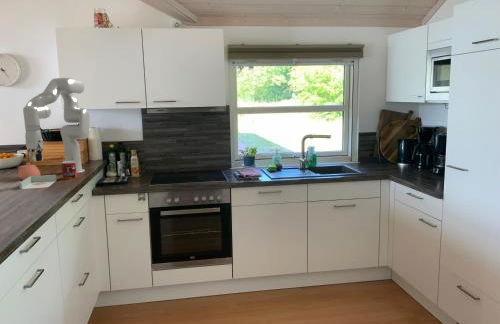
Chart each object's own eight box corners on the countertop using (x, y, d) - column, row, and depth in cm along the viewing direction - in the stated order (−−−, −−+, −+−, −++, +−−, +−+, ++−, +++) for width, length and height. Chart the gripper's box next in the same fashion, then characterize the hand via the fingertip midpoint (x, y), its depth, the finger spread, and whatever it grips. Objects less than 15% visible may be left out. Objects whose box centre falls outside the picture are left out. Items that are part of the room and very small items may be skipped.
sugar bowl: (31, 181, 249) (29, 164, 247) (11, 181, 252) (9, 164, 250) (45, 177, 261) (43, 161, 259) (26, 177, 264) (24, 161, 262)
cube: (30, 161, 234) (28, 152, 233) (38, 159, 238) (37, 151, 237) (34, 161, 231) (33, 152, 230) (43, 160, 235) (42, 151, 235)
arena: (30, 183, 243) (29, 176, 242) (56, 181, 245) (56, 174, 245) (20, 190, 225) (19, 182, 225) (48, 188, 228) (47, 180, 227)
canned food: (62, 181, 247) (60, 163, 245) (64, 178, 254) (62, 161, 252) (76, 180, 249) (74, 162, 247) (77, 177, 256) (76, 160, 254)
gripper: (18, 128, 233) (22, 160, 236) (34, 129, 224) (38, 162, 227) (31, 127, 239) (35, 158, 242) (47, 128, 230) (51, 160, 233)
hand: (36, 160), depth 235 cm, fingers closed on cube, 5 cm apart
